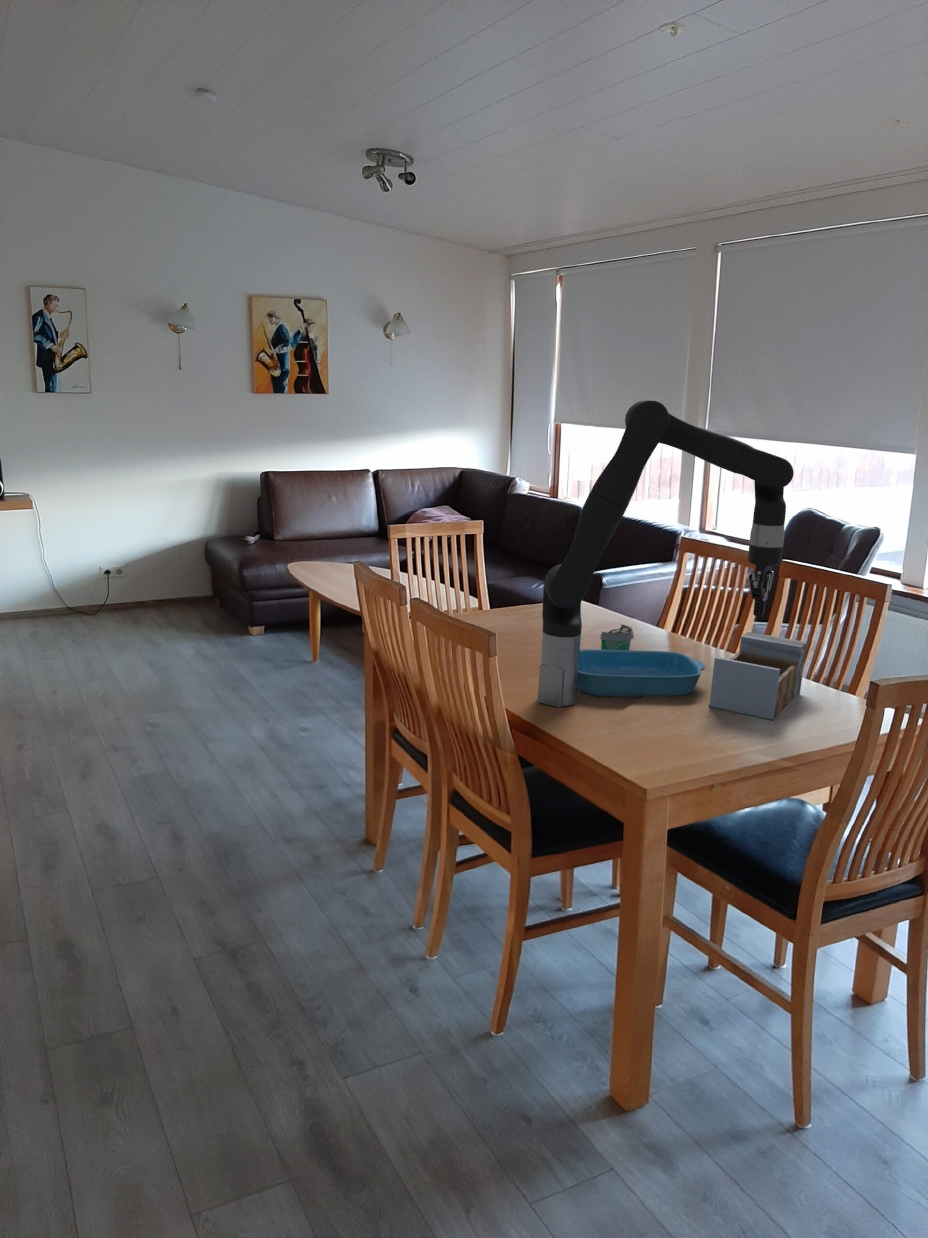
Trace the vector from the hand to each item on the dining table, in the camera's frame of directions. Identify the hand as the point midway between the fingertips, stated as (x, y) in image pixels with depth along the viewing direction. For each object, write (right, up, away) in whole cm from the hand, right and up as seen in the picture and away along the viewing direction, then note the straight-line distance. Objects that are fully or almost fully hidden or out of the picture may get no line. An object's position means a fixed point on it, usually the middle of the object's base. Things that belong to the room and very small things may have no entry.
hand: (758, 615), depth 223 cm
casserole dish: (-27, -19, +20) cm, 38 cm away
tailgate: (-4, -23, 0) cm, 24 cm away
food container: (-27, -14, +38) cm, 49 cm away
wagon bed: (+3, -21, +12) cm, 25 cm away
